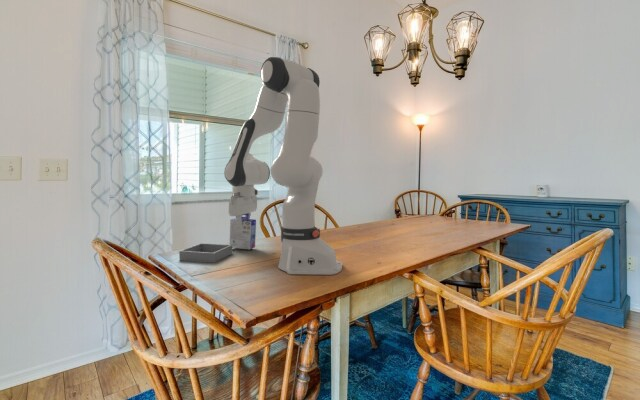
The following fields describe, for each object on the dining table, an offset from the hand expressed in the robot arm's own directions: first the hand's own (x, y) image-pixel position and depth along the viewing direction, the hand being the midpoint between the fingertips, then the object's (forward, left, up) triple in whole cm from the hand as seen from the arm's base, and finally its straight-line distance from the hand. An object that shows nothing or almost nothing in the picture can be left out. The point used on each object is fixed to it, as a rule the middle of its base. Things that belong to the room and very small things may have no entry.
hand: (243, 224), depth 142 cm
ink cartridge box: (+1, 0, -10) cm, 10 cm away
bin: (+8, +15, -11) cm, 20 cm away
